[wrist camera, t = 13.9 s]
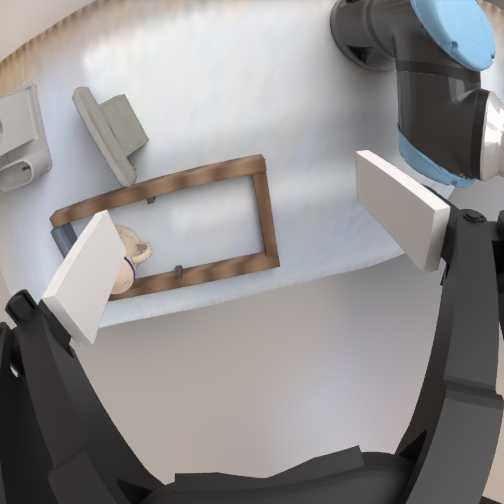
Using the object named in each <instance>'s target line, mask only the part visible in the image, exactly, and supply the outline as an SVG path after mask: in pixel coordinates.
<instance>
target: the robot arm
mask: <svg viewBox="0 0 504 504" xmlns="http://www.w3.org/2000/svg"><path fill="white" fill-rule="evenodd" d="M330 25H331V31H332V34H333V37H334V39H335V41H336V43H337V45H338V46H339V48H340V49H341V51H342V52H343V53H344V54H345V55H346V56H347V57H348V58H349V59H350V60H352V61H353V62H354V63H356V64H358V65H360V66H362V67H364V68H367V69H372V70H391V69H394V68H396V70H397V71H396V75H397V92H398V124H397V130H398V132H399V149H400V153H401V155H402V157H403V158H404V160H405V162H406V163H407V164H408V165H409V166H410V167H412V168H413V169H414V170H415V171H417V172H418V173H420V174H422V175H424V176H426V177H428V178H430V179H432V180H434V181H437V182H439V183H442V184H445V185H450V184H452V185H454V186H455V187H468V186H470V185H472V184H473V182H474V181H475V180H476V179H478V180H481V181H484V182H486V181H487V180H489V179H491V178H492V177H494V176H498V175H499V176H502V177H504V105H503V104H502V102H501V101H500V100H499V98H498V97H497V96H496V94H495V93H494V92H492V91H488V90H484V89H481V80H480V71H483V70H485V69H487V68H489V67H490V66H491V65H492V63H493V61H492V59H494V57H495V40H494V35H493V32H492V29H491V26H490V24H489V21H488V19H487V17H486V16H485V14H484V12H483V11H482V9H481V8H480V7H479V6H478V4H477V3H476V1H475V0H339V1H338V2H337V3H336V4H335V6H334V7H333V10H332V13H331V18H330ZM405 71H408V72H405ZM415 72H416V73H415ZM423 73H424V74H423ZM430 74H432V75H430ZM437 75H438V76H437ZM443 76H444V77H443ZM477 83H479V84H477ZM355 159H356V180H357V200H358V201H359V202H360V203H361V204H362V205H363V206H364V207H365V208H366V209H367V210H368V211H369V212H370V213H371V215H372V216H373V217H374V218H375V219H376V220H377V221H378V222H379V223H380V224H381V225H382V226H383V228H384V229H385V230H386V231H387V232H388V233H389V234H390V235H391V237H392V238H393V239H394V240H395V241H396V242H397V243H398V245H399V246H400V247H401V248H402V249H403V251H404V252H405V253H406V254H407V255H408V256H409V258H410V259H411V260H412V261H413V263H414V264H415V265H416V266H417V267H418V269H419V270H420V271H421V272H422V274H426V273H428V272H432V271H434V270H437V269H438V267H439V263H440V258H441V257H442V258H443V259H444V260H445V262H446V266H445V270H444V273H443V277H442V281H441V284H440V285H442V286H443V288H442V295H441V303H440V309H439V316H438V321H437V326H436V332H435V337H434V341H433V346H432V351H431V355H430V359H429V363H428V367H427V371H426V374H425V378H424V382H423V385H422V389H421V392H420V396H419V398H418V402H417V404H416V407H415V410H414V413H413V416H412V419H411V422H410V425H409V426H408V428H407V430H406V432H405V434H404V436H403V438H402V439H401V441H400V443H399V445H398V448H397V450H396V452H395V454H390V453H382V452H361V451H360V448H359V445H358V446H355V447H352V448H348V449H345V450H342V451H338V452H335V453H331V454H328V455H324V456H320V457H315V458H313V459H310V460H308V461H306V462H304V463H302V464H300V465H297V466H295V467H293V468H291V469H288V470H286V471H284V472H281V473H279V474H276V475H274V476H271V477H268V478H254V477H245V476H237V475H229V474H224V473H218V472H216V473H187V474H185V473H183V474H181V473H180V474H179V473H175V482H172V483H170V484H167V485H164V484H163V483H162V482H161V481H159V480H158V479H157V478H155V477H154V476H153V475H152V474H150V473H149V472H148V471H147V470H146V468H145V467H144V466H143V465H142V463H141V462H140V461H139V459H138V458H137V457H136V455H135V454H134V453H133V451H132V450H131V448H130V447H129V446H128V444H127V443H126V441H125V440H124V438H123V437H122V435H121V434H120V432H119V431H118V429H117V428H116V426H115V425H114V423H113V422H112V420H111V418H110V417H109V415H108V413H107V412H106V410H105V409H104V407H103V405H102V403H101V402H100V400H99V398H98V396H97V395H96V393H95V391H94V389H93V387H92V385H91V384H90V382H89V380H88V378H87V376H86V374H85V372H84V370H83V368H82V366H81V364H80V362H79V360H78V358H77V355H76V353H75V351H74V349H73V348H72V347H71V346H70V345H69V342H70V339H71V337H72V338H73V340H74V341H75V342H76V343H77V344H78V345H79V346H88V345H93V343H94V340H95V337H96V333H97V330H98V327H99V324H100V321H101V318H102V315H103V312H104V309H105V307H106V304H107V301H108V298H109V295H110V293H111V290H112V287H113V285H114V282H115V280H116V277H117V274H118V272H119V269H120V267H121V264H122V262H123V259H124V257H125V255H126V252H127V251H126V249H125V247H124V245H123V243H122V241H121V239H120V237H119V234H118V232H117V230H116V228H115V226H114V224H113V221H112V219H111V217H110V215H109V213H108V210H104V211H101V212H98V213H96V214H95V215H94V216H93V218H92V219H91V221H90V222H89V223H88V225H87V226H86V228H85V229H84V230H83V232H82V233H81V235H80V236H79V238H78V239H77V241H76V242H75V244H74V245H73V247H72V248H71V250H70V251H69V253H68V254H67V256H66V257H65V259H64V261H63V262H62V264H61V265H60V267H59V269H58V270H57V272H56V274H55V275H54V277H53V279H52V280H51V282H50V284H49V286H48V287H47V289H46V291H45V293H44V295H43V296H42V298H41V300H40V302H39V304H38V305H37V304H36V302H35V301H34V300H33V298H32V297H31V295H30V294H29V293H28V291H27V290H25V289H24V290H21V291H19V292H17V293H16V294H15V295H14V296H13V297H12V298H11V299H10V300H9V302H8V303H7V305H6V308H5V311H6V312H7V313H8V314H9V316H10V317H11V318H12V319H13V321H14V322H15V323H16V325H17V327H15V328H13V329H10V327H9V326H8V325H7V324H6V323H5V322H1V323H0V504H501V503H499V502H496V501H494V500H491V499H489V498H486V497H484V496H482V494H483V491H484V488H485V485H486V482H487V479H488V476H489V473H490V470H491V466H492V462H493V459H494V455H495V451H496V446H497V443H498V438H499V433H500V427H501V423H502V417H503V410H504V400H503V397H502V395H499V394H496V391H495V388H496V377H497V365H498V347H499V322H500V326H501V330H502V335H503V339H504V210H502V211H500V213H499V216H498V221H497V222H492V221H490V222H488V221H487V219H486V218H485V217H484V216H483V215H482V214H481V213H479V212H477V211H474V210H471V209H461V210H459V209H458V208H456V207H455V206H454V205H453V204H451V203H450V202H449V201H447V200H446V199H445V198H443V197H442V196H441V195H440V194H437V192H435V191H434V190H433V189H431V188H430V187H427V186H425V185H423V184H419V183H418V182H417V181H415V180H414V179H412V178H411V177H409V176H408V175H406V174H405V173H404V172H402V171H401V170H399V169H398V168H396V167H394V166H393V165H391V164H390V163H388V162H387V161H385V160H384V159H382V158H380V157H379V156H377V155H375V154H374V153H372V152H370V151H369V150H364V151H357V152H355ZM10 366H11V367H12V368H13V369H14V370H15V371H16V372H17V373H18V377H16V376H15V375H14V374H13V372H12V370H11V367H10ZM54 466H55V467H54Z"/></svg>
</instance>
